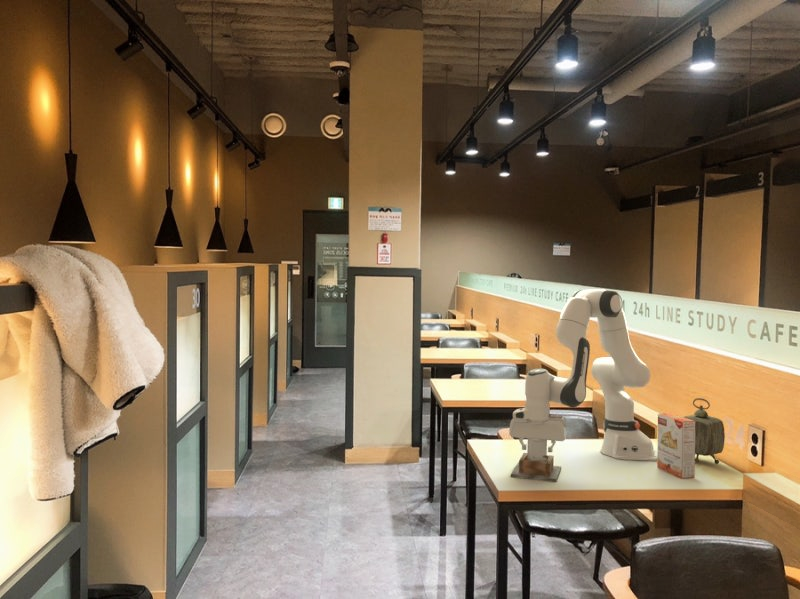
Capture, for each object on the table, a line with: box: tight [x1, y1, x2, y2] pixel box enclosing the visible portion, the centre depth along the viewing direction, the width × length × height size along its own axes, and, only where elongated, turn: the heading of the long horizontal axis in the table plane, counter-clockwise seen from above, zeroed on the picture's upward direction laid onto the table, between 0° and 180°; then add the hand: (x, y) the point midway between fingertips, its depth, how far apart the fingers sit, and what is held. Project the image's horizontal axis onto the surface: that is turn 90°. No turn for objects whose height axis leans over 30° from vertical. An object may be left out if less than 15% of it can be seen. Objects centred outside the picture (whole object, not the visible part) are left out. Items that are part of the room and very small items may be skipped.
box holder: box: [510, 452, 562, 483], centre depth 226 cm, size 16×16×6 cm
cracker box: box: [656, 412, 696, 480], centre depth 227 cm, size 14×6×21 cm, turn 13°
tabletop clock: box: [683, 397, 726, 465], centre depth 241 cm, size 14×9×25 cm, turn 31°
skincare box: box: [526, 438, 548, 462], centre depth 226 cm, size 6×4×12 cm
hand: (537, 450), depth 226 cm, fingers open, 8 cm apart
